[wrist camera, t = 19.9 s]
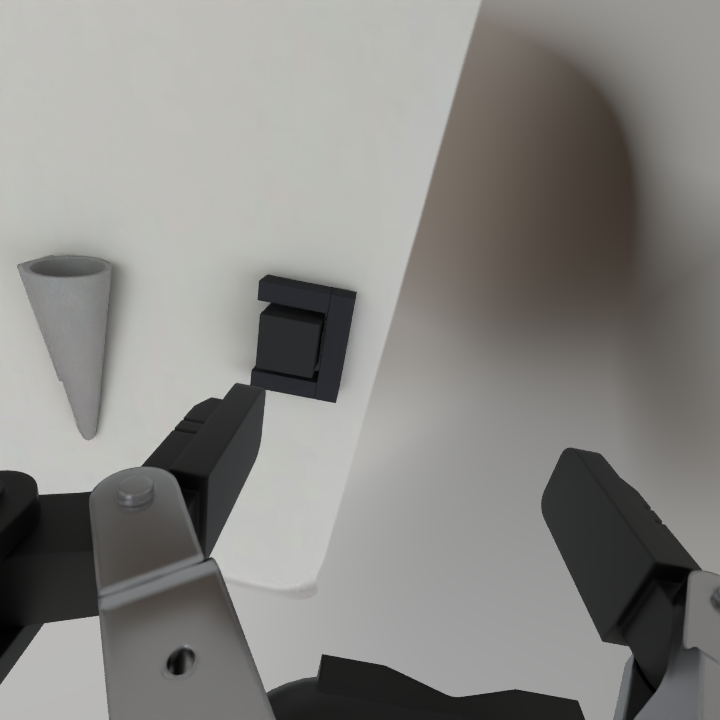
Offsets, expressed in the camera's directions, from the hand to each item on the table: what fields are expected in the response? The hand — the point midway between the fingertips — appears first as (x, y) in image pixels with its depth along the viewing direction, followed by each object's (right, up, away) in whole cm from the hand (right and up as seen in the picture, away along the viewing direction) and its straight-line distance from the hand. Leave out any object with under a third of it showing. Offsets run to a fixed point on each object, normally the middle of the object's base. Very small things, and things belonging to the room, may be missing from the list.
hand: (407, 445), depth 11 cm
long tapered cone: (-26, +3, +29) cm, 40 cm away
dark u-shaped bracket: (-6, +5, +27) cm, 28 cm away
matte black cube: (-7, +5, +27) cm, 28 cm away
